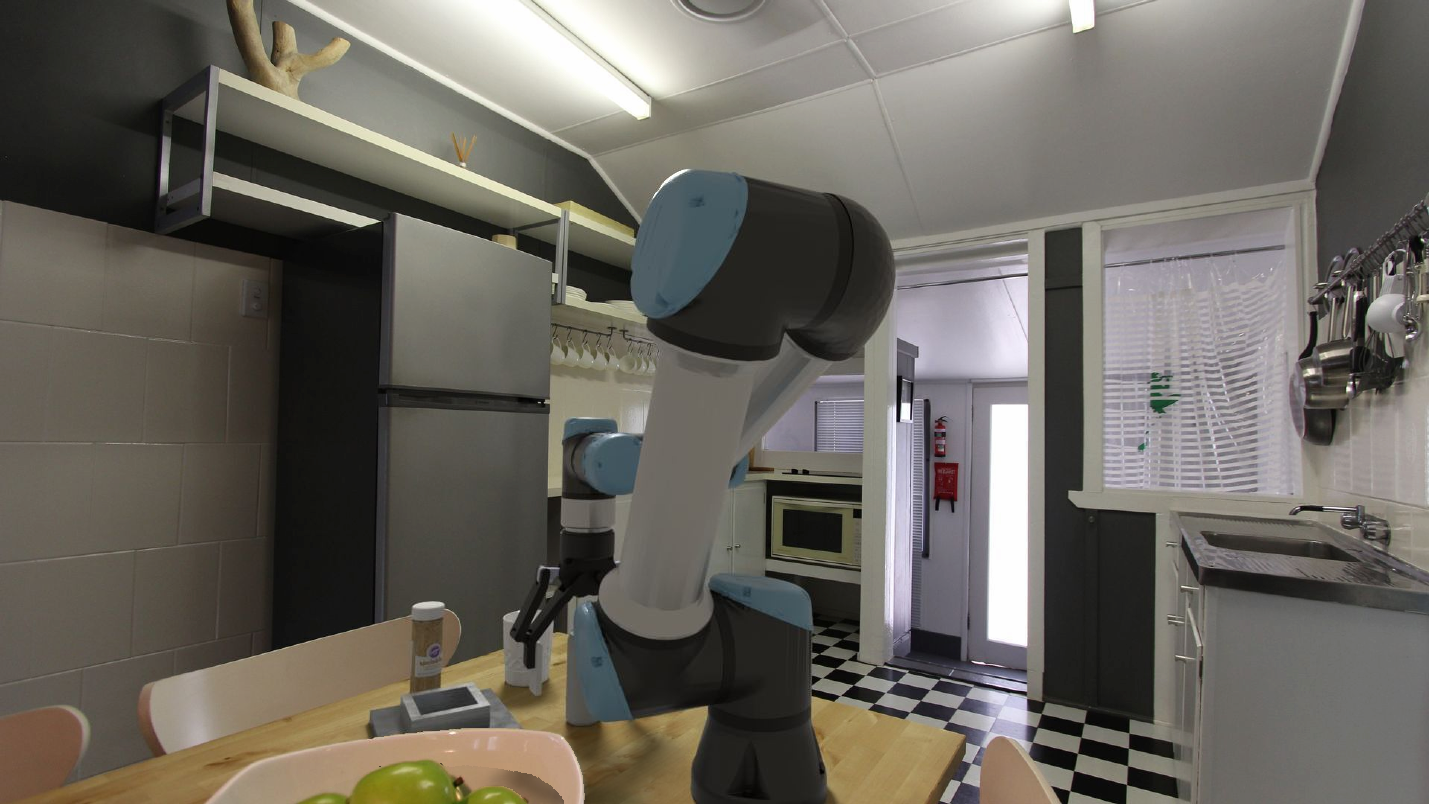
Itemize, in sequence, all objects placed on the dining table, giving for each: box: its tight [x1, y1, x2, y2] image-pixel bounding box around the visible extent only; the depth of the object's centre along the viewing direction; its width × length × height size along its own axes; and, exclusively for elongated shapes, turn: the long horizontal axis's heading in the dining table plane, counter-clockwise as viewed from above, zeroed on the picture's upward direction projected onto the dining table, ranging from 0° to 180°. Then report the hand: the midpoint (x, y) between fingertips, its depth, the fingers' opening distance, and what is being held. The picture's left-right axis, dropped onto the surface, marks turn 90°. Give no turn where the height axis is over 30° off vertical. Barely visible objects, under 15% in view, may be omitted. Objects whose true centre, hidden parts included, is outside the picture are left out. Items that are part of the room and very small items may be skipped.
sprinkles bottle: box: [408, 601, 446, 694], centre depth 100 cm, size 5×5×13 cm
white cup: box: [502, 609, 555, 687], centre depth 107 cm, size 8×8×10 cm
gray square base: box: [369, 681, 524, 738], centre depth 88 cm, size 16×16×4 cm
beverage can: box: [565, 628, 599, 727], centre depth 93 cm, size 5×5×12 cm
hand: (583, 682), depth 93 cm, fingers open, 13 cm apart
